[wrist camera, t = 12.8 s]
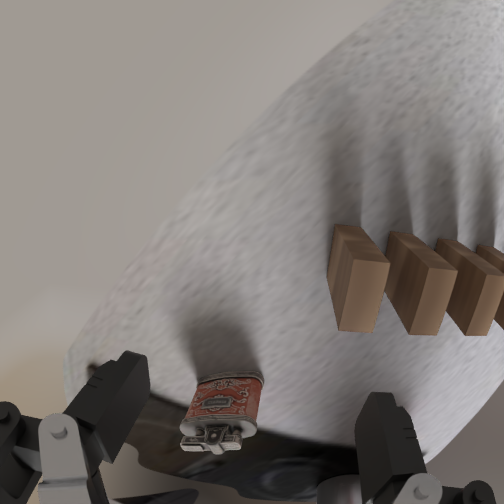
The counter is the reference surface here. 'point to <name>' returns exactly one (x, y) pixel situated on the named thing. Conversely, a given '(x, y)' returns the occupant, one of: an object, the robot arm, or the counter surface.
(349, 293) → the walnut tile
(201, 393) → the lighter
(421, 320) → the walnut tile
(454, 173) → the counter surface
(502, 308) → the walnut tile
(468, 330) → the walnut tile
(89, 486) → the robot arm
